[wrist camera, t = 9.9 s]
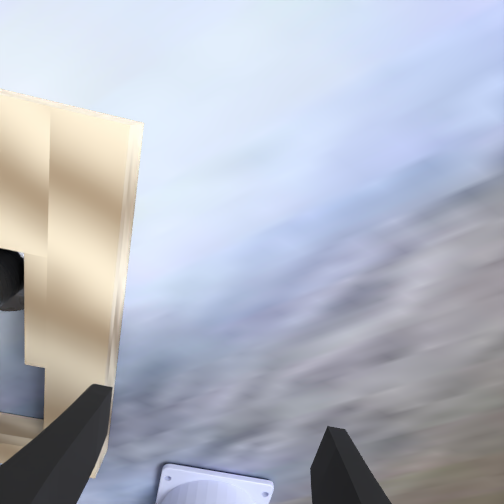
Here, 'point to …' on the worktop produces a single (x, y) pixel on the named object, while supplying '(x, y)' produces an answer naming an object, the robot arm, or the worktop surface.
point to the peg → (11, 280)
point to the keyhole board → (67, 245)
